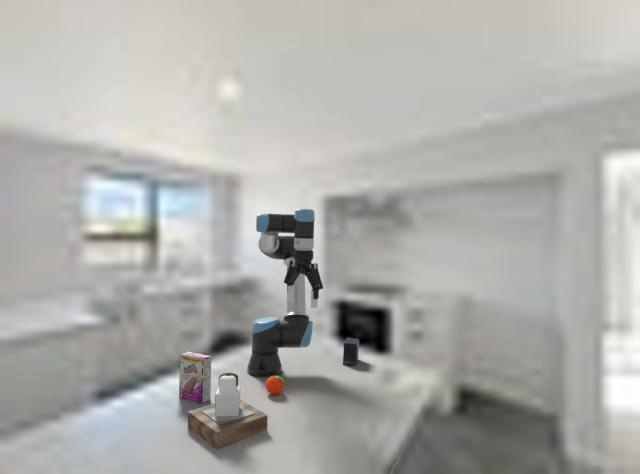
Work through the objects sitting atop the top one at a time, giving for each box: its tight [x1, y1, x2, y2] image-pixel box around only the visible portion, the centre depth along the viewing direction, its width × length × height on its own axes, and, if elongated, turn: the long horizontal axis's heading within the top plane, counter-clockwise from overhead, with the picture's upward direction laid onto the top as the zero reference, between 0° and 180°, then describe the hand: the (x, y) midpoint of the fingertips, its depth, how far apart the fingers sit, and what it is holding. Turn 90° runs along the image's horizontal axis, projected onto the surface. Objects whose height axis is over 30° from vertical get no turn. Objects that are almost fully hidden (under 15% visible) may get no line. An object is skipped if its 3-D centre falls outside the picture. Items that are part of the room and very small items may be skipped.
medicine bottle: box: [214, 372, 241, 417], centre depth 138 cm, size 7×7×12 cm
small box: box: [342, 337, 360, 367], centre depth 210 cm, size 11×6×10 cm, turn 168°
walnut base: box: [187, 399, 269, 450], centre depth 138 cm, size 18×18×5 cm
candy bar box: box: [178, 351, 212, 404], centre depth 161 cm, size 11×5×16 cm, turn 65°
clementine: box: [265, 375, 286, 395], centre depth 168 cm, size 8×7×7 cm
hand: (302, 304), depth 167 cm, fingers open, 13 cm apart
